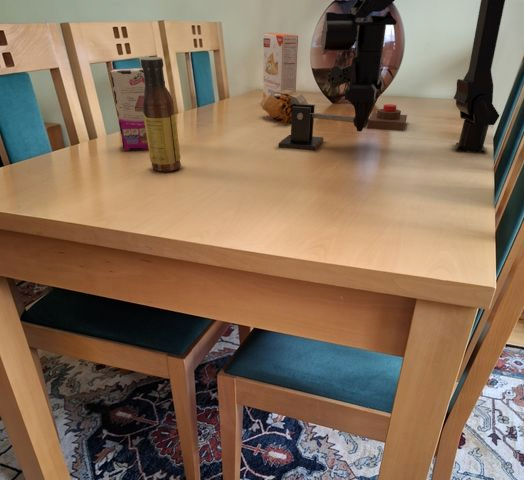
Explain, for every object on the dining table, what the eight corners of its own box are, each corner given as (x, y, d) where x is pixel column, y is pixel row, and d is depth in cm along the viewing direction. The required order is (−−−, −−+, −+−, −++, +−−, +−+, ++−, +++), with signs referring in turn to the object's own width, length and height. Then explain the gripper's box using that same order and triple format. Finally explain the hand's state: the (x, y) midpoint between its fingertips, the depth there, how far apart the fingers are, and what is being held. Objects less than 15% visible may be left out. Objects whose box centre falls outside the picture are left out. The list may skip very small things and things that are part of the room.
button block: (403, 131, 129) (405, 115, 127) (367, 128, 131) (369, 113, 129) (405, 123, 138) (408, 108, 136) (372, 120, 141) (374, 106, 138)
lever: (368, 128, 109) (371, 111, 107) (366, 131, 107) (369, 114, 105) (298, 120, 113) (299, 104, 111) (294, 123, 110) (296, 106, 108)
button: (394, 113, 131) (396, 106, 130) (382, 112, 132) (383, 105, 131) (396, 111, 134) (397, 104, 133) (383, 110, 134) (384, 103, 133)
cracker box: (262, 104, 164) (262, 32, 151) (277, 103, 166) (279, 32, 153) (279, 110, 153) (281, 34, 141) (295, 109, 155) (299, 34, 143)
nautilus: (301, 131, 130) (249, 131, 133) (312, 112, 146) (266, 113, 149) (301, 100, 125) (247, 100, 128) (312, 84, 141) (265, 85, 144)
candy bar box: (168, 143, 115) (160, 67, 105) (170, 148, 111) (162, 69, 101) (122, 146, 112) (109, 67, 102) (123, 151, 108) (109, 70, 99)
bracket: (323, 142, 117) (326, 103, 112) (314, 151, 110) (317, 110, 104) (289, 139, 120) (290, 101, 114) (278, 148, 112) (279, 108, 107)
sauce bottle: (167, 163, 101) (156, 55, 89) (187, 168, 97) (178, 57, 85) (144, 169, 96) (128, 57, 85) (163, 175, 93) (150, 59, 81)
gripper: (339, 47, 108) (333, 120, 118) (323, 53, 94) (318, 135, 103) (387, 48, 106) (378, 122, 115) (379, 54, 91) (368, 138, 101)
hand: (360, 129), depth 109 cm, fingers closed on lever, 3 cm apart
